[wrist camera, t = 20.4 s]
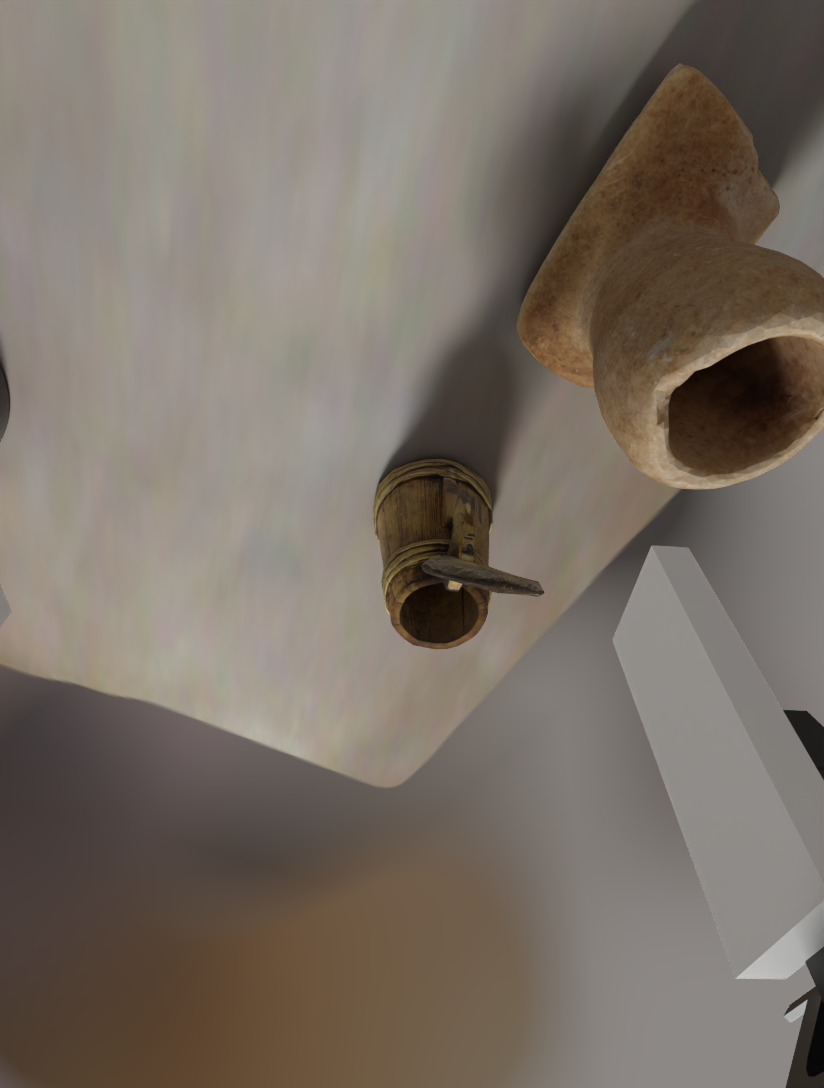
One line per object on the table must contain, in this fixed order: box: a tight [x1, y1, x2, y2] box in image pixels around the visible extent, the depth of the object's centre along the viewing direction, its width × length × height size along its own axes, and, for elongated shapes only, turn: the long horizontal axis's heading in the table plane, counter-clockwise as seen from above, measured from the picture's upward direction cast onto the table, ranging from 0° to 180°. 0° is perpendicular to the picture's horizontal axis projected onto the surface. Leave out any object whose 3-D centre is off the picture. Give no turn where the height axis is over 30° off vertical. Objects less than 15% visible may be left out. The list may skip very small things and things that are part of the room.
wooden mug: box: [374, 459, 544, 649], centre depth 39 cm, size 9×14×18 cm, turn 164°
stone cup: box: [516, 63, 824, 489], centre depth 31 cm, size 15×12×15 cm
